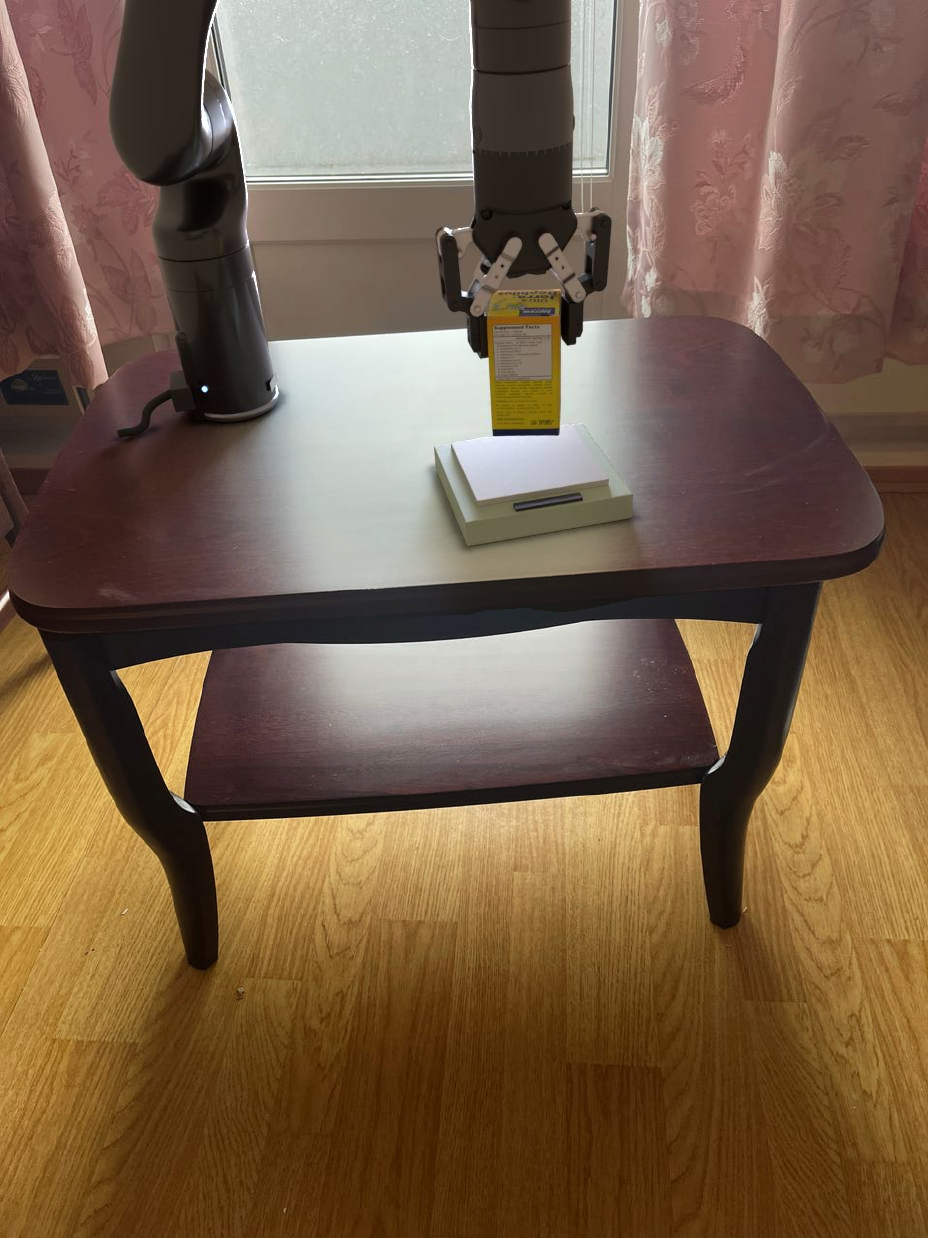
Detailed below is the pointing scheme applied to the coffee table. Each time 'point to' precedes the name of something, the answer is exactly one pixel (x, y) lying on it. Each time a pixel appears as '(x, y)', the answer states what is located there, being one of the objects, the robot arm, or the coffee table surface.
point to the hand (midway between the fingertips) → (525, 348)
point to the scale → (530, 484)
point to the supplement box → (525, 362)
